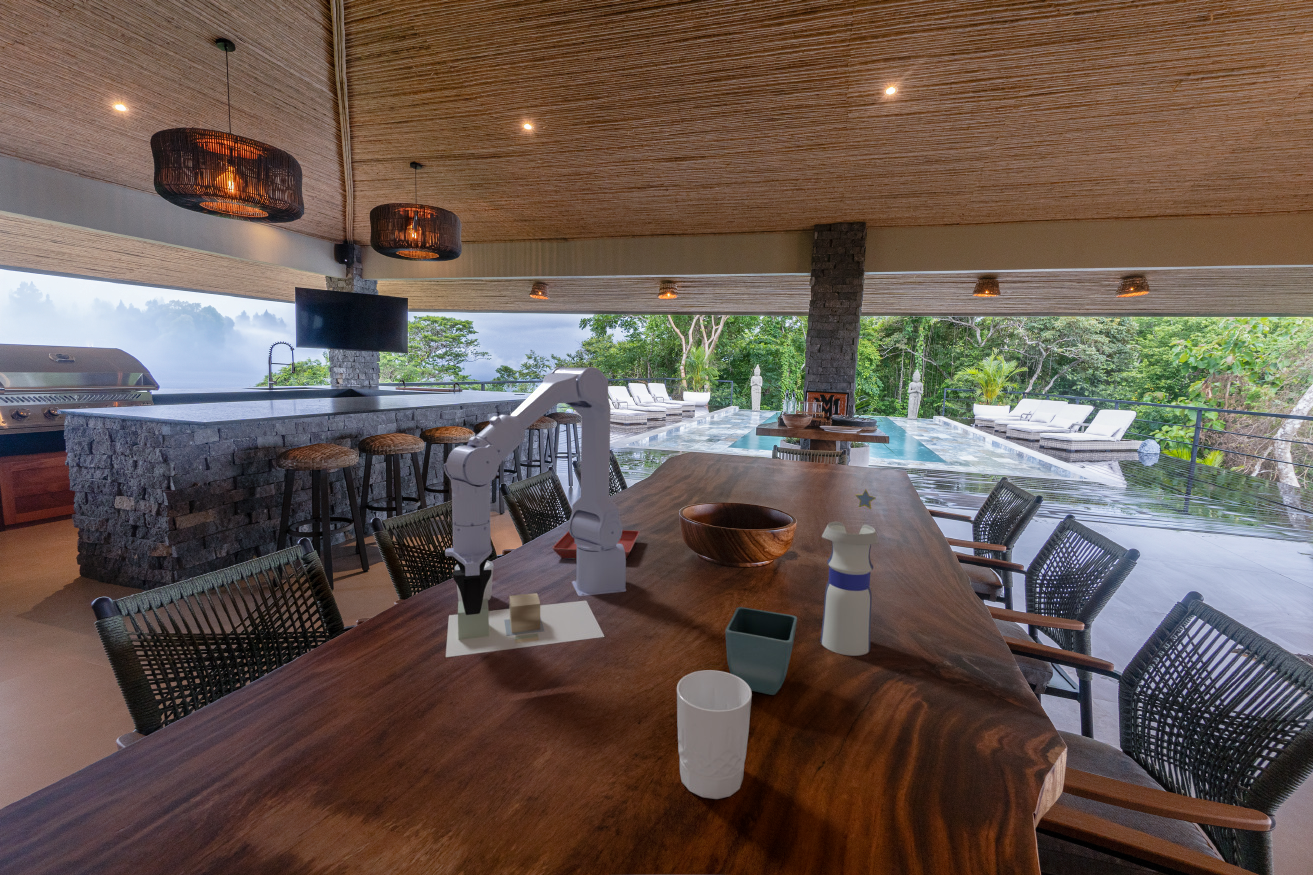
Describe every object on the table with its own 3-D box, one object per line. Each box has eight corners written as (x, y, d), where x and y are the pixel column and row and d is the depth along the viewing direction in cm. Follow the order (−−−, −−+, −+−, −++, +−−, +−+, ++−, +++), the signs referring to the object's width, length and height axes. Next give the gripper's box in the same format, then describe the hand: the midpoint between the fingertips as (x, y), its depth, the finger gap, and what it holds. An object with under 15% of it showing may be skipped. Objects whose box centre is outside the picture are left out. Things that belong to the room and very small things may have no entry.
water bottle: (817, 628, 98) (826, 484, 95) (871, 636, 95) (881, 489, 92) (814, 649, 90) (823, 494, 87) (872, 659, 87) (883, 499, 84)
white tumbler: (499, 595, 109) (499, 559, 108) (485, 610, 102) (484, 572, 101) (465, 593, 109) (464, 558, 109) (448, 607, 103) (447, 570, 102)
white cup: (670, 753, 65) (672, 670, 64) (738, 750, 65) (742, 668, 64) (679, 806, 57) (681, 712, 56) (756, 802, 58) (760, 710, 57)
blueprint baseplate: (586, 603, 106) (586, 600, 106) (604, 640, 92) (604, 636, 91) (448, 618, 98) (448, 614, 98) (445, 660, 84) (445, 656, 84)
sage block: (487, 623, 95) (487, 598, 95) (488, 635, 91) (488, 609, 90) (458, 627, 94) (458, 601, 93) (458, 639, 89) (457, 612, 89)
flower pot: (794, 674, 82) (798, 614, 81) (788, 707, 74) (791, 642, 73) (735, 662, 85) (737, 605, 84) (722, 693, 77) (724, 630, 76)
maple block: (537, 617, 98) (537, 593, 97) (540, 629, 93) (540, 603, 93) (509, 620, 96) (509, 595, 96) (511, 632, 92) (511, 606, 91)
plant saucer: (571, 539, 147) (571, 526, 147) (640, 542, 145) (640, 529, 145) (551, 562, 129) (551, 547, 129) (629, 566, 127) (629, 551, 127)
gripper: (446, 512, 96) (447, 589, 97) (442, 535, 82) (444, 625, 84) (490, 509, 98) (490, 585, 100) (493, 532, 84) (494, 620, 86)
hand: (472, 603), depth 92 cm, fingers open, 7 cm apart
